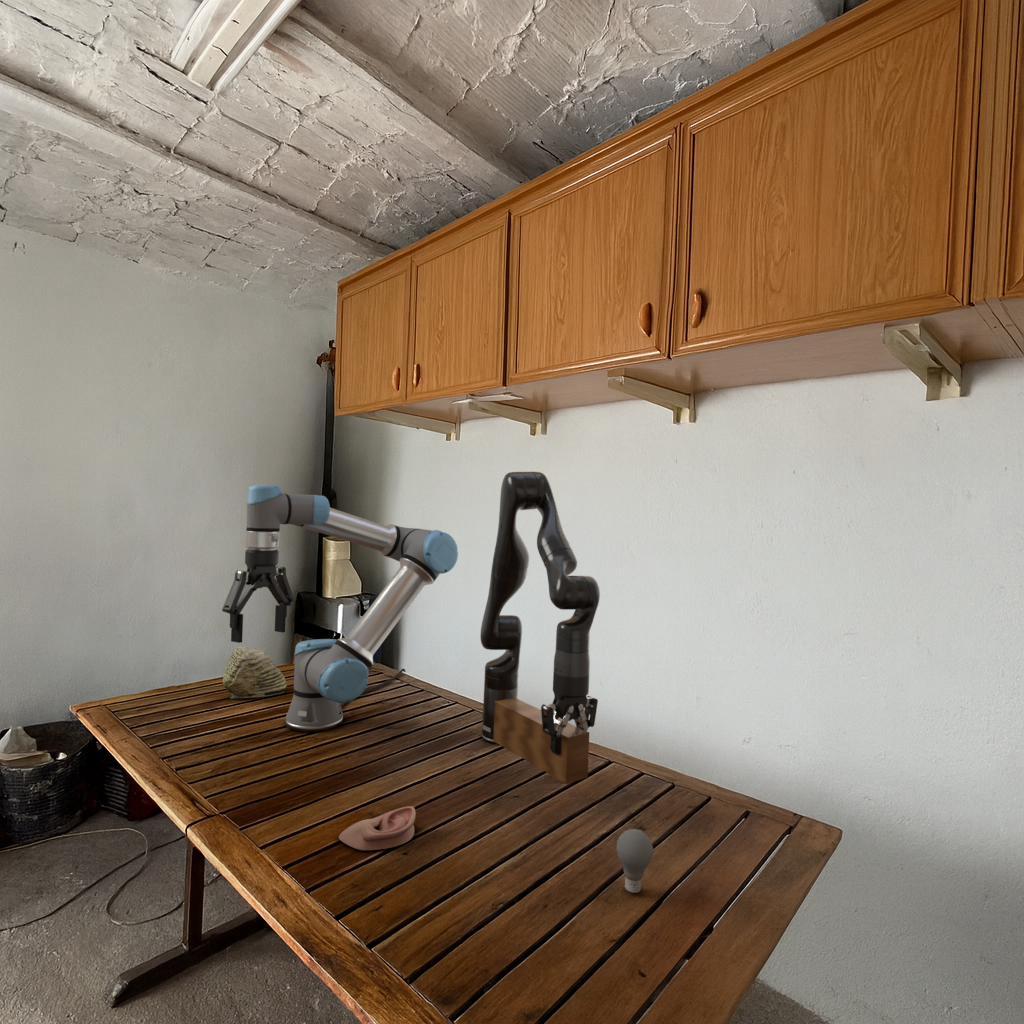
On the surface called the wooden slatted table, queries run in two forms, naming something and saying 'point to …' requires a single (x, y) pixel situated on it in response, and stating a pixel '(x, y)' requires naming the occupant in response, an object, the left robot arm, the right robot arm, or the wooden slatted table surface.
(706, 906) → the wooden slatted table surface
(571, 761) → the bar
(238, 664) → the fossil
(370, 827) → the anatomical model
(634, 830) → the light bulb
